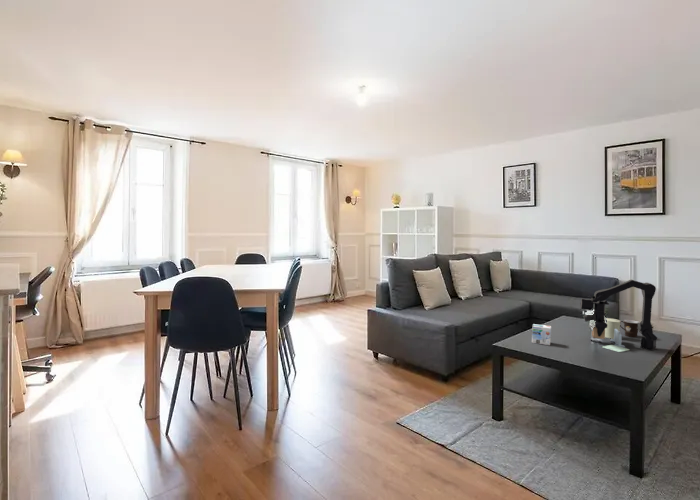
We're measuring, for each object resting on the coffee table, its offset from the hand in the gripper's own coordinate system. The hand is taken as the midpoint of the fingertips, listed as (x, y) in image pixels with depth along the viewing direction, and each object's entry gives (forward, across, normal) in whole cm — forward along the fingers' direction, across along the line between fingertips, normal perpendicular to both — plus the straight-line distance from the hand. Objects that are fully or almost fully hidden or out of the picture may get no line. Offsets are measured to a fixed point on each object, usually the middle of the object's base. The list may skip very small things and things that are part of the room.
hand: (598, 335), depth 242 cm
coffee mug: (+5, -28, +22) cm, 36 cm away
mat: (+5, +9, +8) cm, 13 cm away
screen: (+5, -2, +11) cm, 12 cm away
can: (+5, -18, +10) cm, 22 cm away
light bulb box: (+5, +16, -33) cm, 37 cm away
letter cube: (+1, 0, 0) cm, 1 cm away
